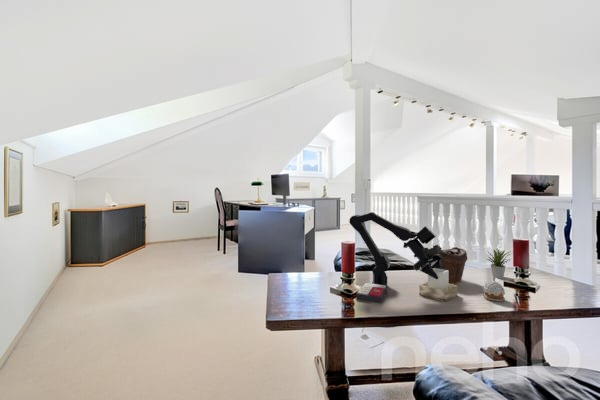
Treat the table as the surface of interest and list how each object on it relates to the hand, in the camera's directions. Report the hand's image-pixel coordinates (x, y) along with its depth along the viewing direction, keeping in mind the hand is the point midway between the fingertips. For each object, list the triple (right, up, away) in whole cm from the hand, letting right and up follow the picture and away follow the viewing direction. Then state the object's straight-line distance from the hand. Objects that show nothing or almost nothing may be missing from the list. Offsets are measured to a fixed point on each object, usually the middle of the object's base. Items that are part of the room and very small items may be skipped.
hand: (441, 277), depth 140 cm
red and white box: (-31, -10, +1) cm, 33 cm away
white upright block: (-1, -7, +1) cm, 7 cm away
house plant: (+46, -7, +28) cm, 55 cm away
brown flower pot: (+15, -8, +24) cm, 30 cm away
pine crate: (-1, -9, +1) cm, 9 cm away
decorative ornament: (+21, -9, -5) cm, 23 cm away
